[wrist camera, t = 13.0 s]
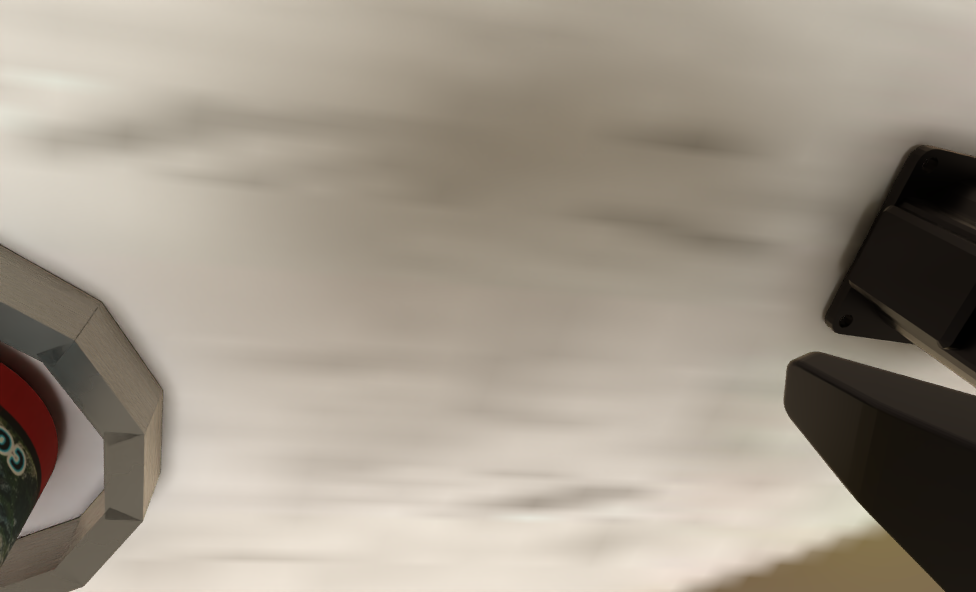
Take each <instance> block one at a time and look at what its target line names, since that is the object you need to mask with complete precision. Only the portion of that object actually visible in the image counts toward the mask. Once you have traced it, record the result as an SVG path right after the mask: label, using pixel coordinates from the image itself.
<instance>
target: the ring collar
mask: <svg viewBox="0 0 976 592" xmlns="http://www.w3.org/2000/svg"><path fill="white" fill-rule="evenodd" d="M0 341H1V342H3V343H5V344H7V345H9V346H11V347H13V348H15V349H17V350H19V351H21V352H23V353H25V354H27V355H29V356H31V357H33V358H35V359H37V360H39V361H41V362H43V363H44V365H45V366H46V367H47V369H48V370H49V371H50V372H51V374H52V375H53V376H54V377H55V379H56V380H57V381H58V382H59V384H60V385H61V386H62V387H63V389H64V390H65V391H66V392H67V394H68V395H69V396H70V398H71V399H72V400H73V401H74V403H75V404H76V405H77V406H78V408H79V409H80V410H81V411H82V413H83V414H84V415H85V416H86V418H87V419H88V420H89V421H90V423H91V424H92V425H93V427H94V428H95V429H96V430H97V432H98V433H99V434H100V435H101V437H102V438H103V439H104V490H103V491H102V492H101V494H100V495H99V496H98V497H97V498H96V499H95V501H94V502H93V503H92V504H91V505H90V506H89V507H88V509H87V510H86V511H85V512H84V513H83V514H82V515H81V517H80V518H77V519H74V520H71V521H68V522H66V523H63V524H60V525H57V526H54V527H51V528H48V529H46V530H43V531H40V532H37V533H34V534H31V535H28V536H25V537H23V538H20V539H17V540H16V541H15V543H14V545H13V546H12V548H11V550H10V552H9V554H8V555H7V557H6V559H5V561H4V563H3V564H2V566H1V568H0V592H69V591H72V590H75V589H78V588H80V587H83V586H84V585H85V584H86V583H87V582H88V581H89V580H90V579H91V578H92V577H93V576H94V574H95V573H96V572H97V571H98V570H99V569H100V568H101V567H102V566H103V565H104V563H105V562H106V561H107V560H108V559H109V558H110V557H111V556H112V555H113V554H114V552H115V551H116V550H117V549H118V548H119V547H120V546H121V545H122V544H123V543H124V541H125V540H126V539H127V538H128V537H129V536H130V535H131V534H132V533H133V532H134V530H135V529H136V528H137V527H138V526H139V525H140V524H141V523H142V522H143V520H144V517H145V514H146V511H147V508H148V506H149V503H150V500H151V497H152V495H153V492H154V489H155V486H156V484H157V481H158V478H159V475H160V468H161V436H162V404H163V390H162V388H161V387H160V386H159V384H158V383H157V381H156V380H155V378H154V377H153V375H152V374H151V373H150V371H149V370H148V368H147V367H146V365H145V364H144V363H143V361H142V360H141V358H140V357H139V355H138V354H137V352H136V351H135V350H134V348H133V347H132V345H131V344H130V342H129V341H128V339H127V338H126V337H125V335H124V334H123V332H122V331H121V329H120V328H119V327H118V325H117V324H116V322H115V321H114V319H113V318H112V316H111V315H110V314H109V312H108V311H107V309H106V308H105V306H104V305H103V303H102V302H101V301H99V300H97V299H95V298H94V297H92V296H90V295H88V294H86V293H85V292H83V291H81V290H79V289H77V288H76V287H74V286H72V285H70V284H69V283H67V282H65V281H63V280H61V279H60V278H58V277H56V276H54V275H53V274H51V273H49V272H47V271H45V270H44V269H42V268H40V267H38V266H37V265H35V264H33V263H31V262H29V261H28V260H26V259H24V258H22V257H20V256H19V255H17V254H15V253H13V252H12V251H10V250H8V249H6V248H4V247H3V246H1V245H0Z"/></svg>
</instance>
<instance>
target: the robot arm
mask: <svg viewBox="0 0 976 592" xmlns="http://www.w3.org/2000/svg"><path fill="white" fill-rule="evenodd" d="M927 159H928V161H927V163H926V165H925V166H924V167H923V163H924V162H925V161H926V160H927ZM843 316H844V318H843V319H842V320H840V319H841V318H842V317H843ZM825 323H826V325H827V326H828V327H829V328H831V329H832V330H833V331H834V332H836V333H838V334H844V335H851V336H859V337H866V338H873V339H880V340H888V341H895V342H902V343H910V344H915V345H917V346H918V347H919V348H921V349H922V350H924V351H925V352H926V353H928V354H929V355H931V356H932V357H933V358H935V359H936V360H938V361H939V362H940V363H942V364H943V365H945V366H946V367H947V368H949V369H950V370H952V371H953V372H954V373H956V374H957V375H958V376H960V377H961V378H963V379H964V380H965V381H967V382H968V383H970V384H971V385H972V386H974V387H975V388H976V157H975V156H971V155H966V154H962V153H958V152H954V151H950V150H946V149H941V148H937V147H933V146H929V145H923V146H921V147H918V148H917V149H915V150H914V151H913V152H912V153H911V154H910V156H909V157H908V158H907V160H906V162H905V164H904V166H903V168H902V170H901V172H900V174H899V176H898V178H897V179H896V181H895V183H894V185H893V187H892V189H891V191H890V193H889V195H888V197H887V199H886V201H885V202H884V204H883V206H882V208H881V210H880V212H879V214H878V216H877V218H876V220H875V222H874V224H873V225H872V227H871V229H870V231H869V233H868V235H867V237H866V239H865V241H864V243H863V245H862V247H861V248H860V250H859V252H858V254H857V256H856V258H855V260H854V262H853V264H852V266H851V268H850V270H849V271H848V273H847V275H846V277H845V279H844V281H843V283H842V285H841V287H840V289H839V291H838V293H837V294H836V296H835V298H834V300H833V302H832V304H831V306H830V308H829V310H828V312H827V314H826V317H825ZM784 407H785V410H786V412H787V414H788V416H789V417H790V419H791V420H792V421H793V423H794V424H795V425H796V426H797V428H798V429H799V430H800V431H801V432H802V434H803V435H804V436H805V437H806V439H807V440H808V441H809V442H810V444H811V445H812V446H813V447H814V449H815V450H816V451H817V452H818V454H819V455H820V456H821V457H822V459H823V460H824V461H825V462H826V464H827V465H828V466H829V467H830V469H831V470H832V471H833V472H834V473H835V475H836V476H837V477H838V478H839V480H840V481H841V482H842V483H843V485H844V486H845V487H846V488H847V489H848V491H849V492H850V493H851V494H852V495H853V496H854V498H855V499H856V500H857V501H858V502H859V503H860V504H861V505H862V507H863V508H864V509H865V510H866V511H867V512H868V513H869V514H870V515H871V516H872V517H873V518H874V519H875V520H876V521H877V522H878V523H879V524H880V525H881V526H882V527H883V528H884V529H885V530H886V531H887V533H888V534H889V535H890V536H891V537H892V538H893V539H894V540H895V541H896V542H897V543H898V544H899V545H900V546H901V547H902V548H903V549H904V550H905V551H906V552H907V553H908V554H909V555H910V556H911V557H912V558H913V559H914V560H915V561H916V562H917V563H918V564H919V565H920V566H921V567H922V568H923V569H924V570H925V571H926V572H927V573H928V574H929V575H930V577H932V578H933V580H934V581H935V582H936V583H937V584H938V585H939V586H940V587H941V588H942V589H943V590H944V591H945V592H976V396H975V395H971V394H968V393H964V392H961V391H957V390H954V389H950V388H946V387H943V386H939V385H936V384H932V383H929V382H925V381H922V380H918V379H914V378H911V377H907V376H904V375H900V374H897V373H893V372H890V371H886V370H882V369H879V368H875V367H872V366H868V365H865V364H861V363H858V362H854V361H850V360H847V359H843V358H840V357H836V356H833V355H829V354H826V353H822V352H810V353H807V354H805V355H803V356H800V357H798V358H796V359H794V360H792V361H790V363H789V364H788V366H787V371H786V380H785V390H784Z"/></svg>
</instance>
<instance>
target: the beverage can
mask: <svg viewBox="0 0 976 592" xmlns="http://www.w3.org/2000/svg"><path fill="white" fill-rule="evenodd" d="M57 454H58V438H57V432H56V428H55V425H54V422H53V419H52V417H51V415H50V413H49V411H48V409H47V407H46V406H45V404H44V402H43V401H42V400H41V398H40V397H39V396H38V394H37V393H36V392H35V391H34V390H33V389H32V388H31V387H30V386H29V385H28V384H27V383H26V382H25V381H24V380H23V379H22V378H21V377H20V376H19V375H17V374H16V373H15V372H14V371H12V370H11V369H10V368H8V367H7V366H5V365H4V364H2V363H1V362H0V568H1V566H2V564H3V563H4V561H5V559H6V557H7V555H8V554H9V552H10V550H11V548H12V546H13V545H14V543H15V541H16V539H17V537H18V536H19V534H20V532H21V530H22V528H23V526H24V524H25V523H26V521H27V519H28V517H29V515H30V513H31V511H32V510H33V508H34V506H35V504H36V502H37V500H38V499H39V497H40V495H41V493H42V491H43V489H44V487H45V486H46V484H47V482H48V480H49V478H50V476H51V474H52V472H53V470H54V467H55V464H56V460H57Z"/></svg>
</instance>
